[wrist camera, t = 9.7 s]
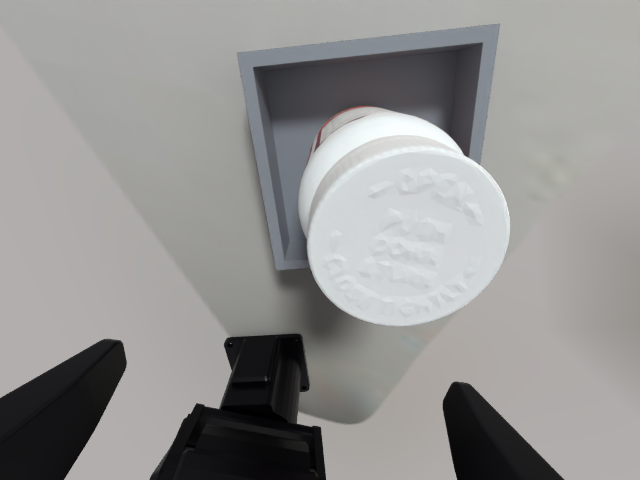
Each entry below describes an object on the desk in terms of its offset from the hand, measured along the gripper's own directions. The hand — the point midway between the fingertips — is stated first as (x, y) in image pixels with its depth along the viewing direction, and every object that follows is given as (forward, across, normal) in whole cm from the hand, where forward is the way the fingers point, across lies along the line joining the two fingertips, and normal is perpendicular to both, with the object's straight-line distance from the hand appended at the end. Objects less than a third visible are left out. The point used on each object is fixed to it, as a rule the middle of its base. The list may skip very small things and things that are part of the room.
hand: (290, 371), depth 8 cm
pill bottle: (+12, -2, -4) cm, 13 cm away
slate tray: (+13, -2, -4) cm, 14 cm away
